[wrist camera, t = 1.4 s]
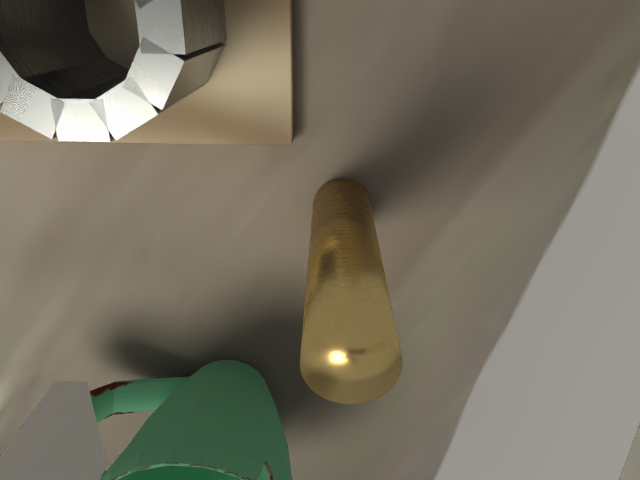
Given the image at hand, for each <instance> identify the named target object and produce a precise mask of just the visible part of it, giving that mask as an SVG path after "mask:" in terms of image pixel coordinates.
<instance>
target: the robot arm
mask: <svg viewBox="0 0 640 480" xmlns="http://www.w3.org/2000/svg"><path fill="white" fill-rule="evenodd" d="M106 466H107V464H106V460H105V455H104V451H103V447H102V443H101V438H100V434H99V430H98V425H97V421H96V417H95V413H94V408H93V404H92V400H91V396H90V391H89V387H88V383H87V382H74V381H55V382H54V383H53V385H52V386H51V387H50V389H49V390H48V391H47V393H46V394H45V396H44V397H43V398H42V400H41V401H40V402H39V404H38V405H37V407H36V408H35V409H34V411H33V412H32V413H31V415H30V416H29V418H28V419H27V420H26V422H25V423H24V424H23V426H22V427H21V429H20V430H19V431H18V433H17V434H16V435H15V437H14V438H13V440H12V441H11V442H10V444H9V445H8V446H7V448H6V449H5V451H4V452H3V453H2V455H1V456H0V480H100V478H101V476H102V474H103V472H104V470H105V468H106ZM619 480H640V424H639V427H638V429H637V432H636V435H635V437H634V440H633V443H632V445H631V448H630V451H629V454H628V456H627V459H626V461H625V464H624V467H623V469H622V472H621V475H620V477H619Z"/></svg>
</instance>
